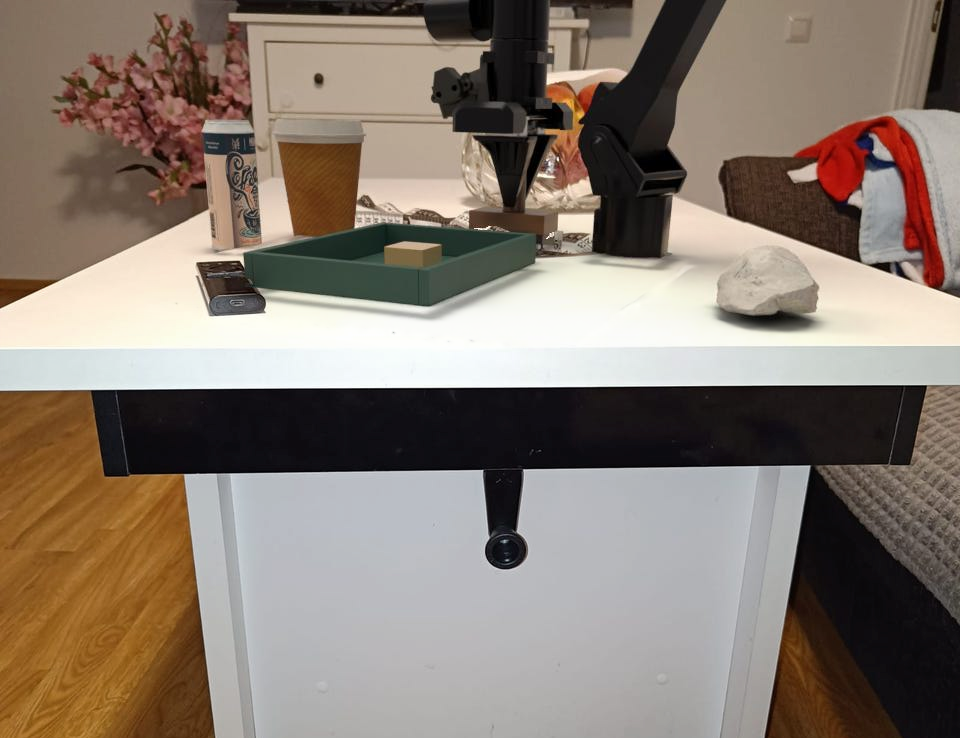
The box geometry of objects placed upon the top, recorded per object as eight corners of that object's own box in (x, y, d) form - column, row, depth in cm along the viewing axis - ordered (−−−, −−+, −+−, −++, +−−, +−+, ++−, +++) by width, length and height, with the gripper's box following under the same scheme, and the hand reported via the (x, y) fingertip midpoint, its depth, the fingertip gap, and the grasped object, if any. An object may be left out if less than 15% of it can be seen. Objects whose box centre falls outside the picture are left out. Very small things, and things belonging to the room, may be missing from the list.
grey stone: (846, 322, 66) (858, 251, 65) (768, 334, 62) (779, 259, 61) (755, 300, 73) (763, 235, 71) (679, 310, 69) (686, 242, 67)
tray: (535, 271, 84) (536, 233, 83) (428, 317, 65) (428, 270, 64) (383, 257, 89) (382, 222, 88) (245, 296, 71) (242, 252, 70)
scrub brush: (556, 245, 99) (561, 161, 96) (542, 250, 95) (546, 163, 92) (484, 239, 102) (486, 157, 99) (468, 244, 98) (469, 159, 95)
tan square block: (441, 268, 80) (441, 244, 79) (422, 274, 77) (422, 249, 76) (404, 264, 81) (404, 241, 80) (384, 270, 78) (384, 246, 77)
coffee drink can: (249, 255, 89) (240, 121, 84) (203, 253, 90) (191, 120, 85) (270, 248, 93) (261, 120, 89) (225, 246, 94) (215, 119, 89)
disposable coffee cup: (386, 238, 101) (384, 120, 96) (328, 249, 94) (323, 121, 89) (320, 231, 106) (315, 118, 101) (259, 240, 98) (251, 118, 94)
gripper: (481, 46, 102) (479, 194, 108) (402, 35, 86) (404, 209, 92) (578, 46, 98) (570, 199, 104) (513, 34, 82) (508, 216, 88)
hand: (514, 205), depth 97 cm, fingers closed on scrub brush, 2 cm apart
